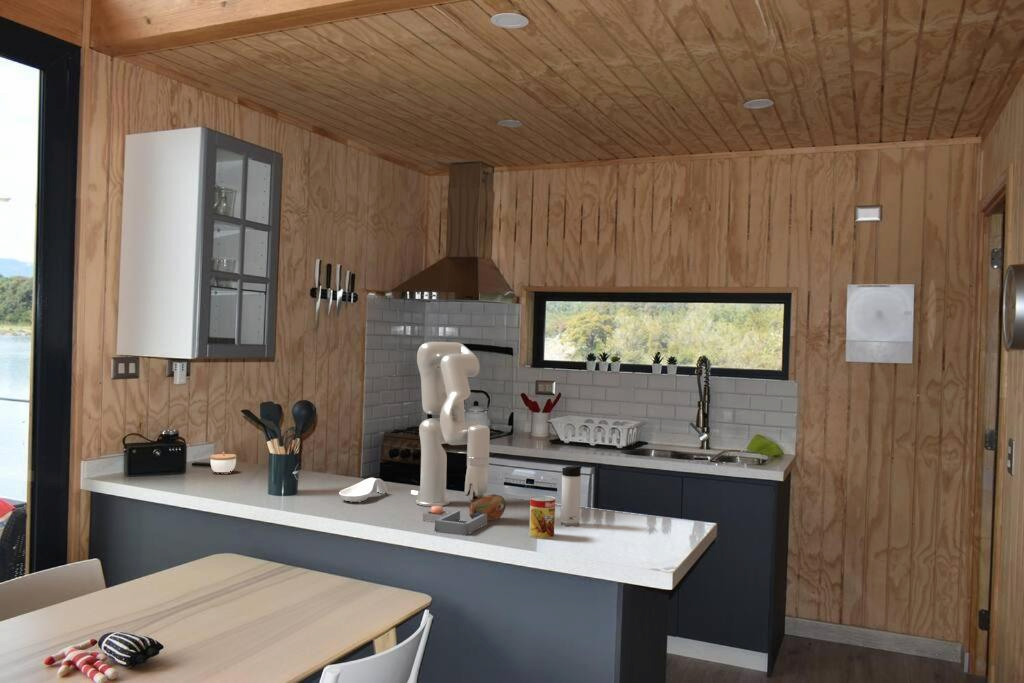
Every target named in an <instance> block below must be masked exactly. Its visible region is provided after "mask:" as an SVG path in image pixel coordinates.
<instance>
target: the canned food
mask: <svg viewBox="0 0 1024 683" xmlns="http://www.w3.org/2000/svg"><path fill="white" fill-rule="evenodd" d="M529 500H530V501H529V502H530V503H529V537H531V538H532V539H537V538H538V539H539V540H547V539H549V540H550V539H553V538H554V537H555V522H556V520H555V517H556V497H554V496H550V495H532V496H530V499H529Z"/></svg>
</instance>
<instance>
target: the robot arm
mask: <svg viewBox="0 0 1024 683" xmlns="http://www.w3.org/2000/svg"><path fill="white" fill-rule="evenodd" d="M416 364H417V368H418V370H419V375H420V382H421V383H420V384H421V388H420V389H421V404H422V405H421V406H422V409H423V412H424V413H426V414H427V415H439V417H432V418H427V419H424V420H423V421H422V422H421V423H420V424H419V428H418V431H419V432H418V434H419V439H420V454H421V455H420V484H419V485H420V486H419V487H420V488H419V489H420V490H416V489H414V490H413V489H412V490H411V491H410V495H411V497H416V499H415V504H417V505H418V504H419V506H424V507H432V506H442V507H443V506H447V505H449V504H450V503H451V500H450V499H449V498H447V496H446V495H447V468H448V467H447V465H448V464H447V463H448V461H447V460H448V459H447V458H448V457H447V452H446V450H445V449H444V447H443V444H448V445H450V446H460V445H461V446H462V445H463V446H464V445H467V448H466V450H467V451H466V472H465V473H466V474H465V481H464V495H465V496H466V497H467V496H468V498H469V501H470V504H471V503H472V501H473V500H474V499H475V498H477V497H482V496H485V494H486V493H487V491H488V486H489V485H488V482H489V480H488V479H489V478H488V477H489V475H488V474H489V472H488V468H489V466H490V438H491V436H490V434H491V432H490V431H491V429H490V427H489V426H487V425H481V424H480V423H478V422H466V417H465V400H467V399H468V398H469V397H470V396H471V389H470V388H471V387H470V384H469V379H468V378H473V377H476V376H477V375H478V374H479V373H480V362H479V359H478V357H477V356H476V355H475V354H474V352H473V351H471V350H470V349H469V348H468V347H467V346H465V345H464V344H462V343H461V342H455V341H454V342H453V341H452V342H451V341H449V342H448V341H428V342H424V343H422V344H421V345H420V346H419V348H418V349H417V354H416ZM438 366H440V368H439V367H438Z"/></svg>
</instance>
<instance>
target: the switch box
mask: <svg viewBox="0 0 1024 683" xmlns="http://www.w3.org/2000/svg"><path fill="white" fill-rule="evenodd" d="M450 513H452V512H451V511H448V510H443V514H441V515H439V514H431V509H430V510H428V511H426V512H423V513H422V521H423V520H425V521H424V522H428V521H432V522H431V523H435V520H437V519H439V518H442V517H444V516H446V515H448V514H450Z"/></svg>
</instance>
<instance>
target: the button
mask: <svg viewBox="0 0 1024 683" xmlns="http://www.w3.org/2000/svg"><path fill="white" fill-rule="evenodd" d="M430 510H431V514H439V515H441V514H443V511H444V507H443V506H430Z"/></svg>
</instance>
